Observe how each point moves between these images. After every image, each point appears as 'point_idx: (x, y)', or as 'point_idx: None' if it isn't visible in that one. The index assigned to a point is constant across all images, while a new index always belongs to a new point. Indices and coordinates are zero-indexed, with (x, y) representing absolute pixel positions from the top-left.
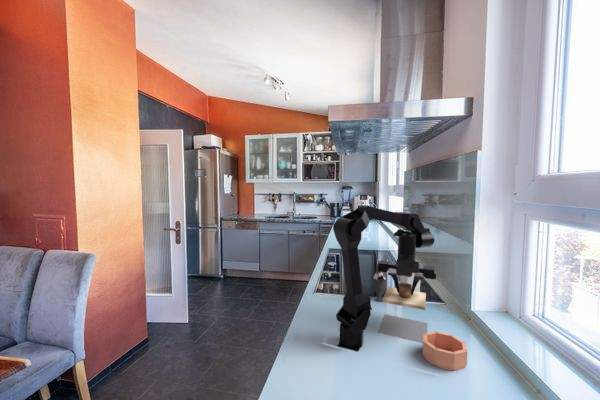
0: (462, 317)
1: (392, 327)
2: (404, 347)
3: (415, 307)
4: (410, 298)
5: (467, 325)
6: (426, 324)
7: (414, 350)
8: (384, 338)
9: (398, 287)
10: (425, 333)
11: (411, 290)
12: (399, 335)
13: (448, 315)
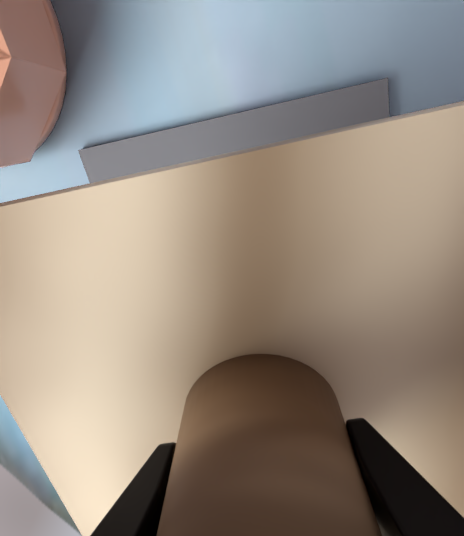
0: (66, 515)
1: None
2: (174, 14)
3: (41, 194)
4: (176, 383)
5: (22, 463)
6: None
7: (111, 23)
8: (324, 42)
9: (384, 494)
10: (2, 72)
11: (149, 504)
12: (245, 141)
13: None
